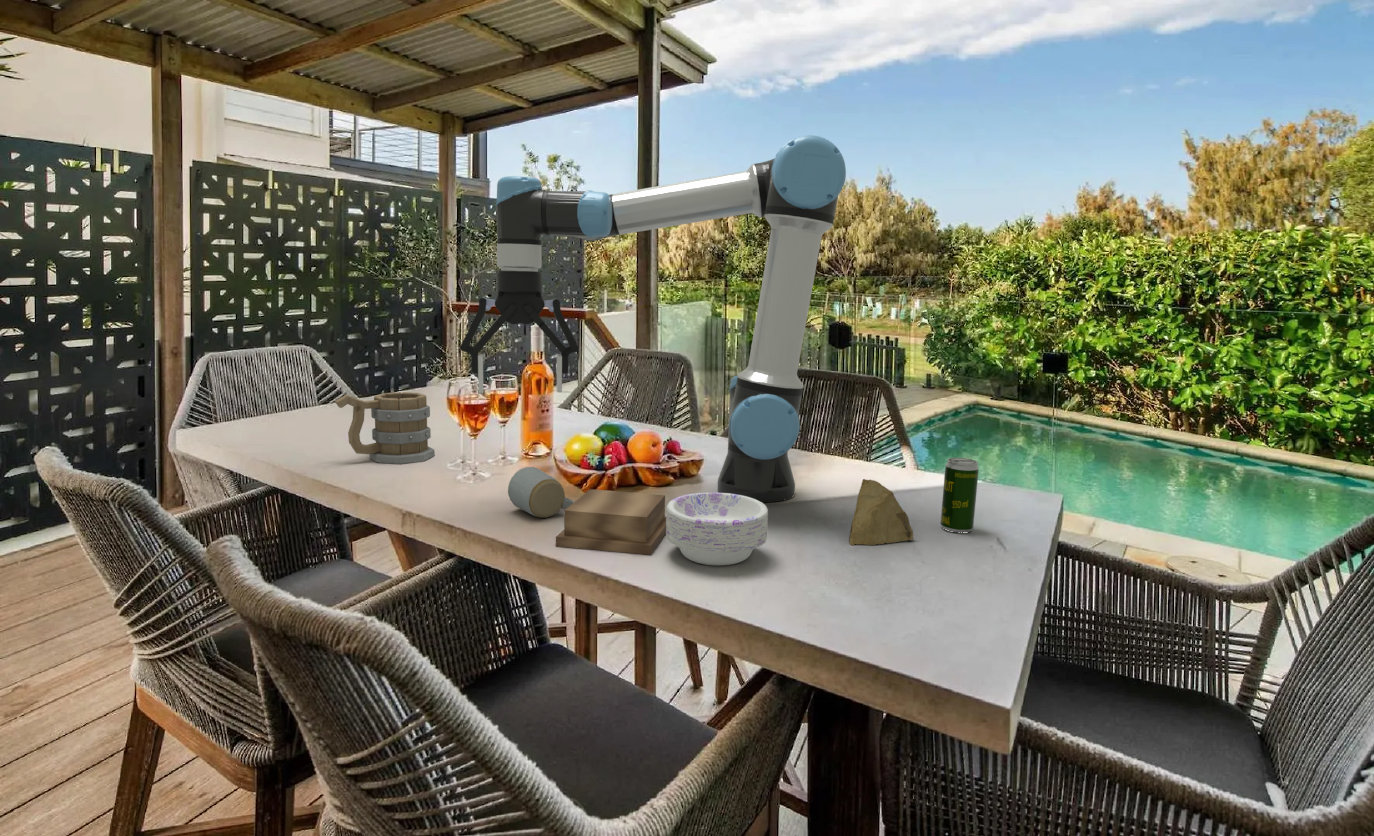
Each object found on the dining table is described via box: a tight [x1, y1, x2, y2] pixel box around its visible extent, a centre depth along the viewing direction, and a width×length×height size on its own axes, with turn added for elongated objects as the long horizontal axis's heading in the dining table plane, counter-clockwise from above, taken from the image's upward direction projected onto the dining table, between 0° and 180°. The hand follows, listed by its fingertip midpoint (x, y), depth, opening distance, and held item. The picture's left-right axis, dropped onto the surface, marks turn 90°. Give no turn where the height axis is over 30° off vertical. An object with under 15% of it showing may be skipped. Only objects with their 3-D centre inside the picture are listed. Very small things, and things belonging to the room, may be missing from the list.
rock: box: [848, 478, 915, 546], centre depth 130 cm, size 11×9×10 cm
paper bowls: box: [665, 492, 769, 567], centre depth 121 cm, size 15×15×8 cm
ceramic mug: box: [507, 466, 575, 519], centre depth 141 cm, size 11×8×8 cm
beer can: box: [940, 457, 980, 534], centre depth 137 cm, size 5×5×12 cm
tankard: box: [335, 391, 436, 465], centre depth 176 cm, size 20×13×15 cm, turn 128°
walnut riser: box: [555, 488, 667, 556], centre depth 129 cm, size 15×15×6 cm
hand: (520, 391), depth 143 cm, fingers open, 13 cm apart
